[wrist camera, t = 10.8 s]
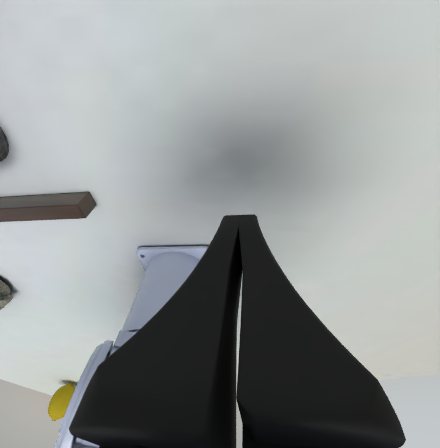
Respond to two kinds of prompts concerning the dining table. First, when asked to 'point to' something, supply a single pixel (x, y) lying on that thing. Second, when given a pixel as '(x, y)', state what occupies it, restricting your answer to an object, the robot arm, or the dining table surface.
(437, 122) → the dining table surface
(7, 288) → the elongated rock
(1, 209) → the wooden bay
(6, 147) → the salt shaker
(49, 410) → the lemon
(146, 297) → the robot arm
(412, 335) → the dining table surface
